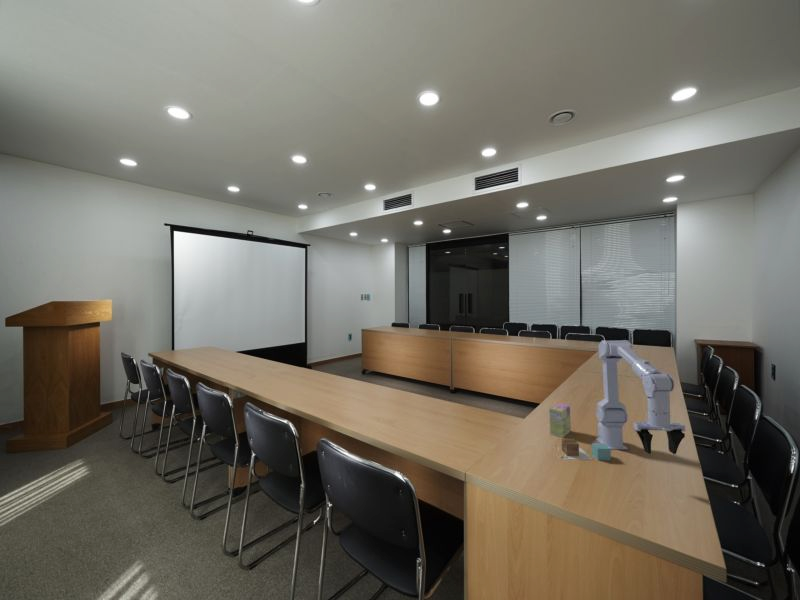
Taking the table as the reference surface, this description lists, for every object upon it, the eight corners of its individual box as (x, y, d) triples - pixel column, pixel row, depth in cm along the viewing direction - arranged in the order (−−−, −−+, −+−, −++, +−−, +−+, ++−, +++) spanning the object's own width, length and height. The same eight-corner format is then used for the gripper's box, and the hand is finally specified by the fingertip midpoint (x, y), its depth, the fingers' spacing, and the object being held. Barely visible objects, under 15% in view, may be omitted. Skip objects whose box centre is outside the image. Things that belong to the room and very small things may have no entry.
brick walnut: (561, 450, 129) (561, 438, 129) (573, 450, 129) (573, 438, 129) (566, 455, 125) (566, 443, 125) (579, 456, 124) (578, 444, 124)
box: (558, 428, 152) (557, 403, 152) (571, 431, 148) (570, 405, 148) (549, 435, 145) (548, 408, 145) (562, 438, 141) (562, 411, 141)
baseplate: (549, 447, 132) (549, 446, 132) (580, 448, 131) (580, 447, 131) (559, 459, 122) (559, 458, 122) (592, 460, 121) (592, 459, 121)
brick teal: (591, 455, 125) (591, 443, 125) (604, 455, 125) (603, 443, 125) (597, 461, 121) (597, 448, 121) (610, 461, 120) (610, 448, 120)
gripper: (643, 414, 102) (644, 457, 102) (692, 415, 100) (694, 458, 100) (629, 407, 109) (630, 447, 109) (675, 407, 107) (676, 448, 107)
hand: (660, 452), depth 105 cm, fingers open, 7 cm apart
